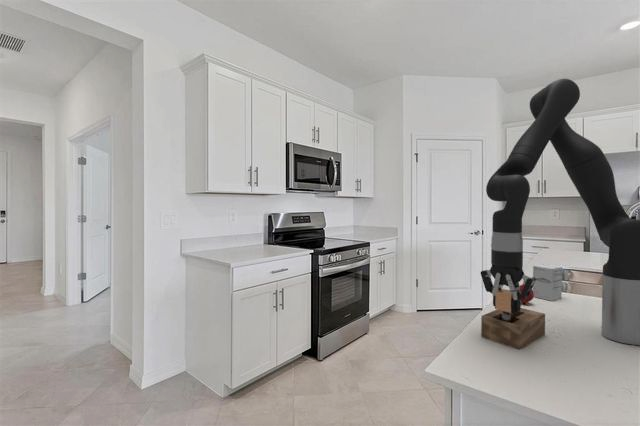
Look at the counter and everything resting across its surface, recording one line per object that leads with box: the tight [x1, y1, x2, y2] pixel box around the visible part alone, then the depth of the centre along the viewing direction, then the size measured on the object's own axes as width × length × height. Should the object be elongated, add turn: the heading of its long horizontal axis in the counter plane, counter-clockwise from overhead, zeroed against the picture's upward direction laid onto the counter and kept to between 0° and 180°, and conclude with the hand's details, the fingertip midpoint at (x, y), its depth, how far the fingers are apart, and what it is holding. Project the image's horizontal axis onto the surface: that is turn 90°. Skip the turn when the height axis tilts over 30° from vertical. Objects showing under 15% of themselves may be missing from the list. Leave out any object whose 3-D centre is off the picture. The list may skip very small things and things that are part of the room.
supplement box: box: [532, 263, 563, 302], centre depth 129 cm, size 7×7×13 cm
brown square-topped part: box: [494, 288, 513, 323], centre depth 90 cm, size 4×4×13 cm
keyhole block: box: [480, 307, 546, 350], centre depth 93 cm, size 10×16×6 cm, turn 126°
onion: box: [519, 282, 535, 305], centre depth 122 cm, size 6×6×8 cm
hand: (506, 310), depth 90 cm, fingers closed on brown square-topped part, 4 cm apart
